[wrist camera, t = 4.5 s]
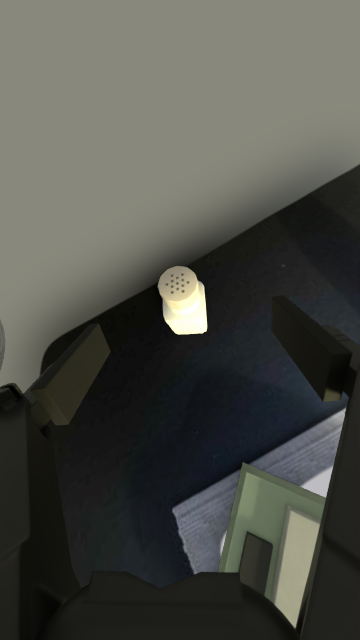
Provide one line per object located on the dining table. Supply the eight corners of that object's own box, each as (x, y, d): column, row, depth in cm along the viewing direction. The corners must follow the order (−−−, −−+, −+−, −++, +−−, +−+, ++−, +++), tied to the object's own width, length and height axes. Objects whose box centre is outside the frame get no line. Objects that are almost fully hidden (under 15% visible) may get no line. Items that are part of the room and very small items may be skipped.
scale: (203, 631, 16) (202, 683, 14) (242, 462, 19) (247, 475, 17) (425, 778, 13) (485, 889, 10) (431, 543, 16) (478, 578, 13)
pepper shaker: (205, 302, 25) (201, 258, 16) (207, 333, 24) (204, 305, 15) (174, 305, 25) (153, 264, 17) (174, 335, 24) (152, 309, 15)
